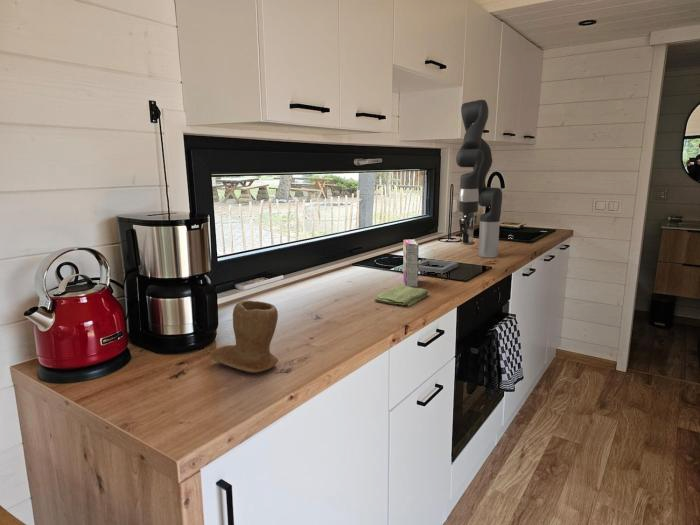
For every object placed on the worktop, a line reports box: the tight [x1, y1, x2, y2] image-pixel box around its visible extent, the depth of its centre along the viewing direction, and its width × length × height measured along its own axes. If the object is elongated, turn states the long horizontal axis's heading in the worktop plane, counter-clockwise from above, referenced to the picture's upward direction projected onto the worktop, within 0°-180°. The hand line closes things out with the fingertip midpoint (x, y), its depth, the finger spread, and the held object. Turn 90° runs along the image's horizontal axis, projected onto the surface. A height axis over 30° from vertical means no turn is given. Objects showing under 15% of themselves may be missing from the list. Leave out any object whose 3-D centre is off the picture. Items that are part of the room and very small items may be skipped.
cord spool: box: [460, 226, 476, 246], centre depth 196 cm, size 6×6×7 cm
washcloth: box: [374, 284, 429, 307], centre depth 164 cm, size 13×18×3 cm
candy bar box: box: [402, 238, 419, 288], centre depth 183 cm, size 11×5×16 cm, turn 179°
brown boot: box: [208, 300, 279, 374], centre depth 111 cm, size 15×12×15 cm
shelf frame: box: [418, 258, 459, 275], centre depth 209 cm, size 17×15×2 cm
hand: (467, 241), depth 197 cm, fingers closed on cord spool, 4 cm apart
